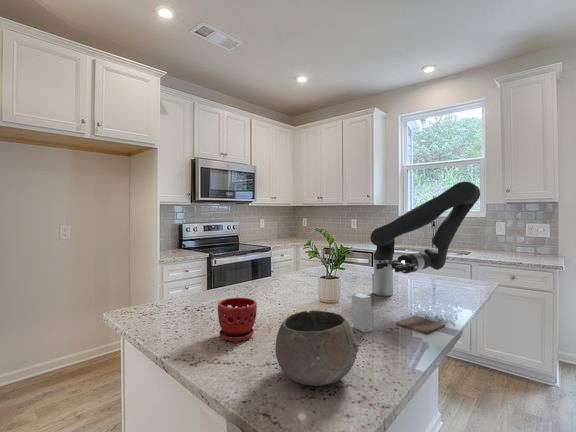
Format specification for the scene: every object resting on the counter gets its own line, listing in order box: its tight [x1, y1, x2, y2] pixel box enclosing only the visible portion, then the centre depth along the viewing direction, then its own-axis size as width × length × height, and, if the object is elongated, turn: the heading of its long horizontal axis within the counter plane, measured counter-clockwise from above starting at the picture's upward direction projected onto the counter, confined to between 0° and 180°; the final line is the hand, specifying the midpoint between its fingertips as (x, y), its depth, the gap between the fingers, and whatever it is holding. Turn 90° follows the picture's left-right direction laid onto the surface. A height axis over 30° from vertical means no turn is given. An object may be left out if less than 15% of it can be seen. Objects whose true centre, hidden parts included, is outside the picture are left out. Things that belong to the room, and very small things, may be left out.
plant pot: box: [217, 297, 258, 342], centre depth 109 cm, size 13×13×12 cm
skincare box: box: [351, 292, 373, 333], centre depth 113 cm, size 6×4×12 cm
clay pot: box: [274, 309, 359, 387], centre depth 82 cm, size 21×21×15 cm
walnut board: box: [395, 315, 446, 335], centre depth 116 cm, size 12×12×1 cm
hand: (386, 267), depth 121 cm, fingers open, 8 cm apart
